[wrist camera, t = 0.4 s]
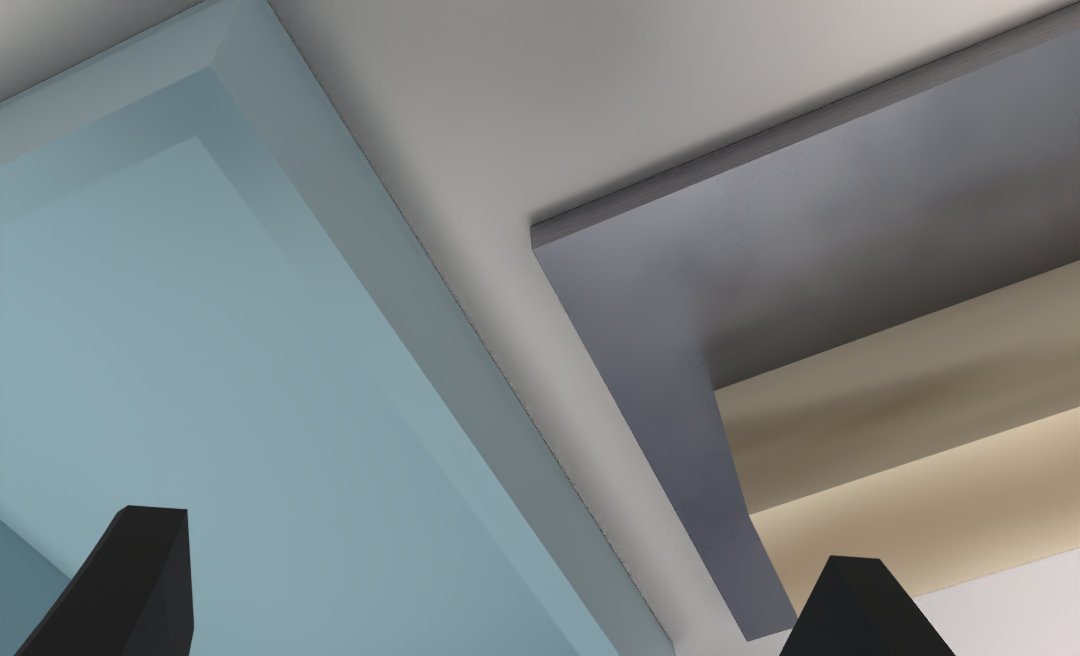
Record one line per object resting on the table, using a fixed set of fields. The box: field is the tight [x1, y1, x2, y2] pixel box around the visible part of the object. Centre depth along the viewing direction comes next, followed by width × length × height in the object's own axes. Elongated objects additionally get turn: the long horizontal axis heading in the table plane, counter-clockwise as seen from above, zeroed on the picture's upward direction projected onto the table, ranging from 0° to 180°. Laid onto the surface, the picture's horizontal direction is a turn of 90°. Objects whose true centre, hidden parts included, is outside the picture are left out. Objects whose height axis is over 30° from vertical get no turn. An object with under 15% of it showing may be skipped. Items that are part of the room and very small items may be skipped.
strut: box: [714, 260, 1080, 618], centre depth 20 cm, size 4×13×4 cm, turn 114°
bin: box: [0, 0, 676, 656], centre depth 23 cm, size 21×13×4 cm, turn 24°
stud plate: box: [530, 2, 1080, 642], centre depth 21 cm, size 14×17×3 cm
